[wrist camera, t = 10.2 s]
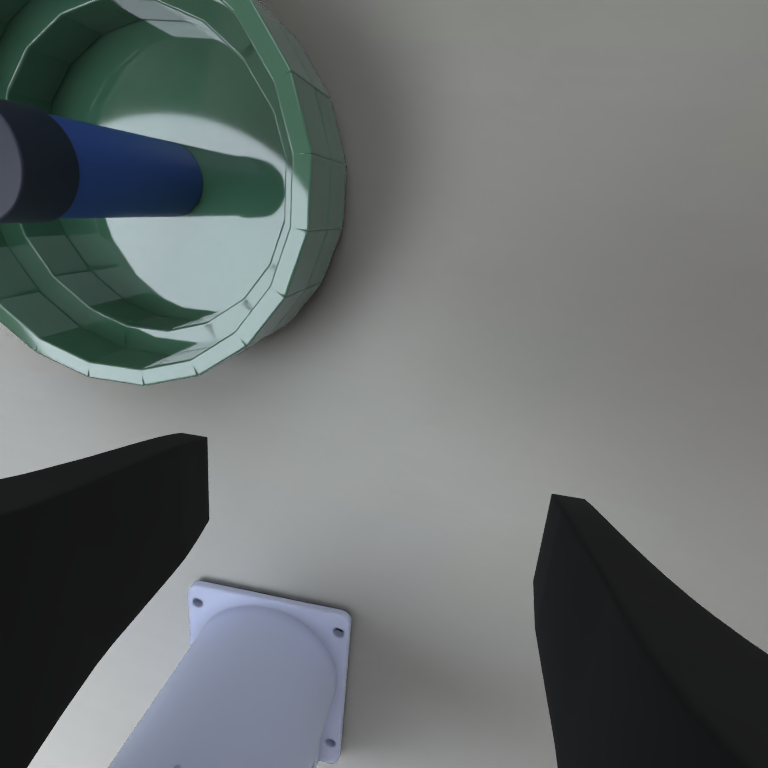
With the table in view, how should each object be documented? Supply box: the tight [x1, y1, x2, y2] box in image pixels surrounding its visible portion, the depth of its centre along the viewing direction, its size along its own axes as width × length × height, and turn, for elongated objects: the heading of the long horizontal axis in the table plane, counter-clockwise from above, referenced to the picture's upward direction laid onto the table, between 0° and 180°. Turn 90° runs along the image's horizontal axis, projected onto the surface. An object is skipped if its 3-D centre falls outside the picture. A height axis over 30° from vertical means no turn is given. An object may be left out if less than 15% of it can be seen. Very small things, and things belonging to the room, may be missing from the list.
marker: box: [0, 99, 202, 224], centre depth 16 cm, size 3×3×8 cm
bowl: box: [0, 0, 346, 386], centre depth 18 cm, size 13×13×4 cm
